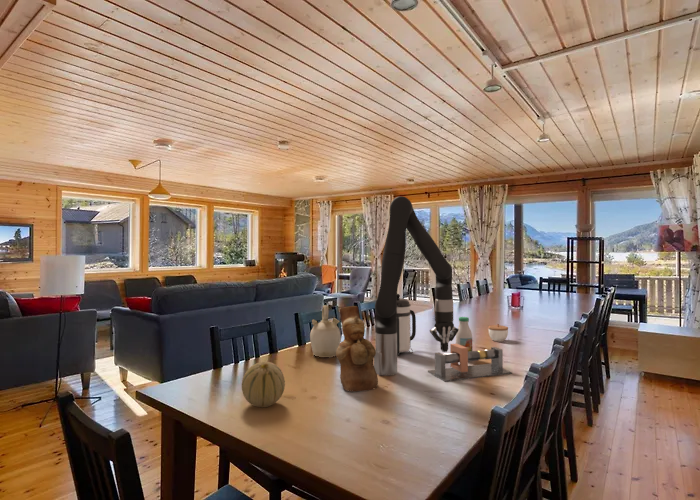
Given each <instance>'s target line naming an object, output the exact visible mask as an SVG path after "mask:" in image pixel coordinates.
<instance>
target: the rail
mask: <svg viewBox="0 0 700 500" xmlns="http://www.w3.org/2000/svg"><path fill="white" fill-rule="evenodd" d="M503 355H504V354H503V348H499V347H497V346H491V347H490V348H489V349H483V350H472V351H468V362H475V361H479V360H490V361H491V363H484V364H483V363H482V364H475V365H468V371H467V372H460V371H458V370H456V369H454V368H452V367H448V368H446V364H447V365H449V364H451V363H458V364H459V363H460V354H459V353H450V352H449V353H441V352H434V369H429V370H427V373H429V374H430V375H433V376H434V377H435V378H438V379H440V380H441V381H443V382H445V383H446V382H447V383H448V382H453V381H454V382H455V381H461V380H462V381H463V380H469V379H470V380H471V379H480V378H485V377H487V378H488V377H493V376H494V377H495V376H504V375H505V376H506V375H512V373H513V371H510V370H507V369H505V368H504V366H503V365H504V363H503V362H504V358H503Z"/></svg>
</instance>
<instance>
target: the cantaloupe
mask: <svg viewBox="0 0 700 500" xmlns="http://www.w3.org/2000/svg"><path fill="white" fill-rule="evenodd" d="M241 381H242V382H241V391H242V395H243V397H244V398H245V400H246V402H248V404H250V405H251V406H253V407H258V408H266V407H270V406H272V405H274V404H277V402H278V401H279V400H280V398H281V397H282V396H283V394H284V392H285V391H284V390H285V387H286V380H285V376H284V373H283V371H282V369H281V367H279V366H278V365H276V363H273V362H271V361H260V362H257V363H255V364H253V365H251V366H250V367H249V368H248V369H247V370H246V372H245V373H244V375H243V377H242V380H241Z"/></svg>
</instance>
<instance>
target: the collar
mask: <svg viewBox="0 0 700 500" xmlns="http://www.w3.org/2000/svg"><path fill="white" fill-rule="evenodd" d="M449 347H450V352H449V353H459V354H460V362H458V363H450V368H454V369H456V370H458V371H460V372H467V371H468V366H469V361H468V348H467V347H464V346H461V345H459V344H456V343H450V346H449Z"/></svg>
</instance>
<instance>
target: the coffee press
mask: <svg viewBox="0 0 700 500" xmlns="http://www.w3.org/2000/svg"><path fill="white" fill-rule="evenodd" d="M400 297H401V295H400V294H399V293H397V357H400V353H405V352H406V353H407V352H409V353H410V354H413V352H414V350H413V349H412V348H411V341H412V340H414V339H415V337H416V334H417V333H416V332H417V329H416V328H417V325H416V324H417V323H416V322H417V321H416V314H415V311H414V310H411V303H410V301H409V300H408V299H406V298H400ZM411 323H412V324H411ZM411 326H412V327H411ZM410 350H411V351H410Z"/></svg>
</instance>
